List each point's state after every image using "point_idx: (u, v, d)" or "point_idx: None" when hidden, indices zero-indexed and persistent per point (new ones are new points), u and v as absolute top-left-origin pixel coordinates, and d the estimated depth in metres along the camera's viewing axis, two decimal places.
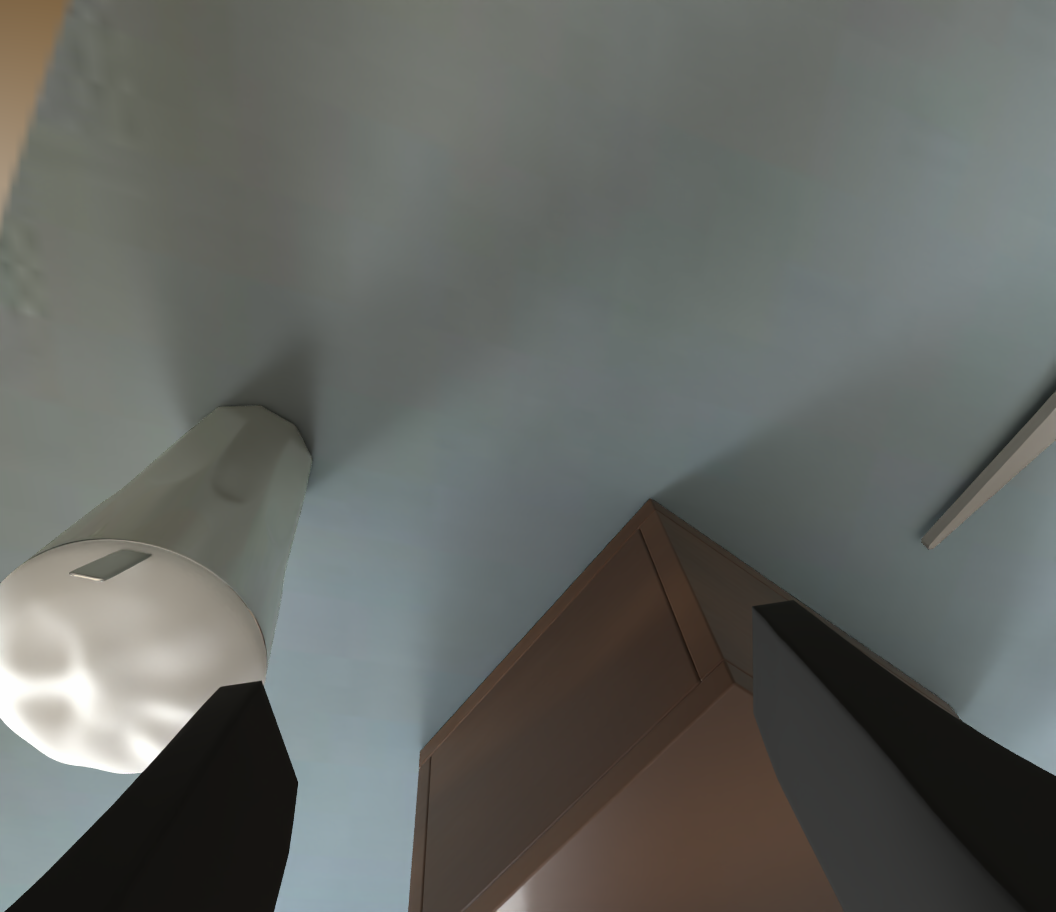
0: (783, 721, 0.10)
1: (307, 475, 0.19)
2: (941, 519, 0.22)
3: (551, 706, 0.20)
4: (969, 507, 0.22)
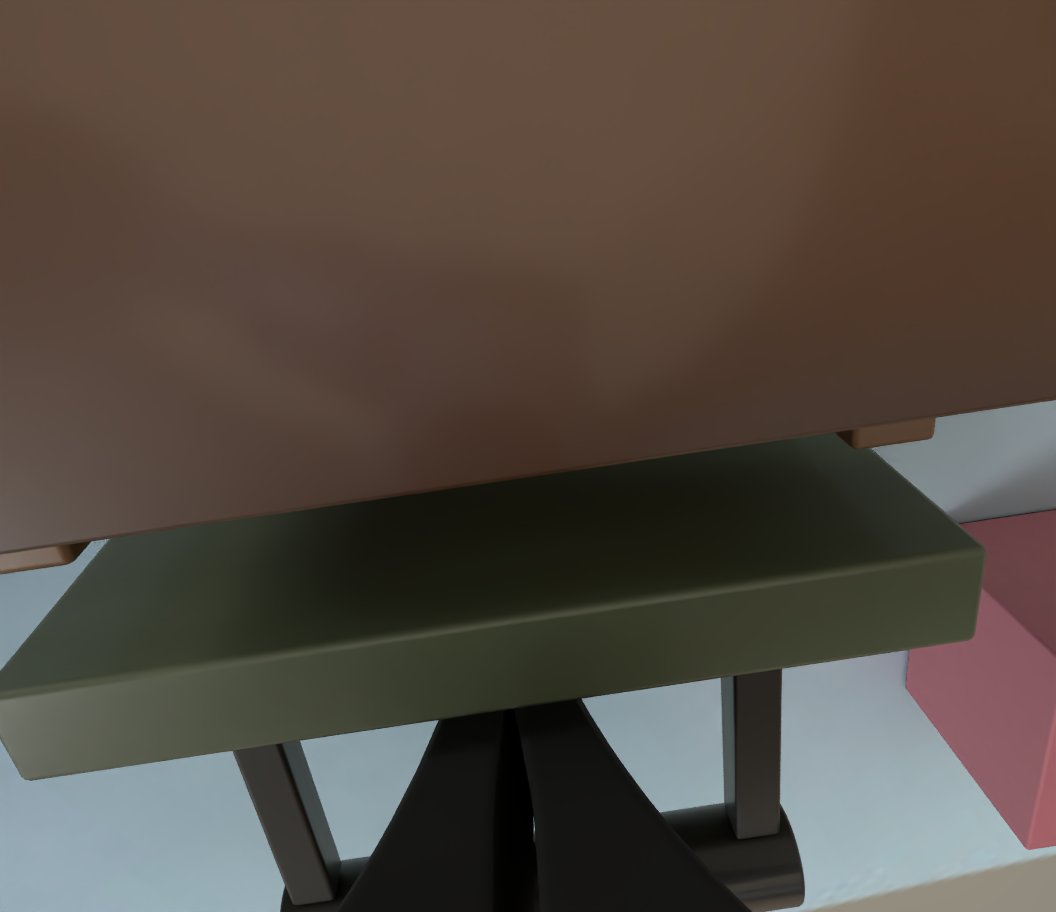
0: (523, 761, 0.10)
1: None
2: None
3: None
4: None
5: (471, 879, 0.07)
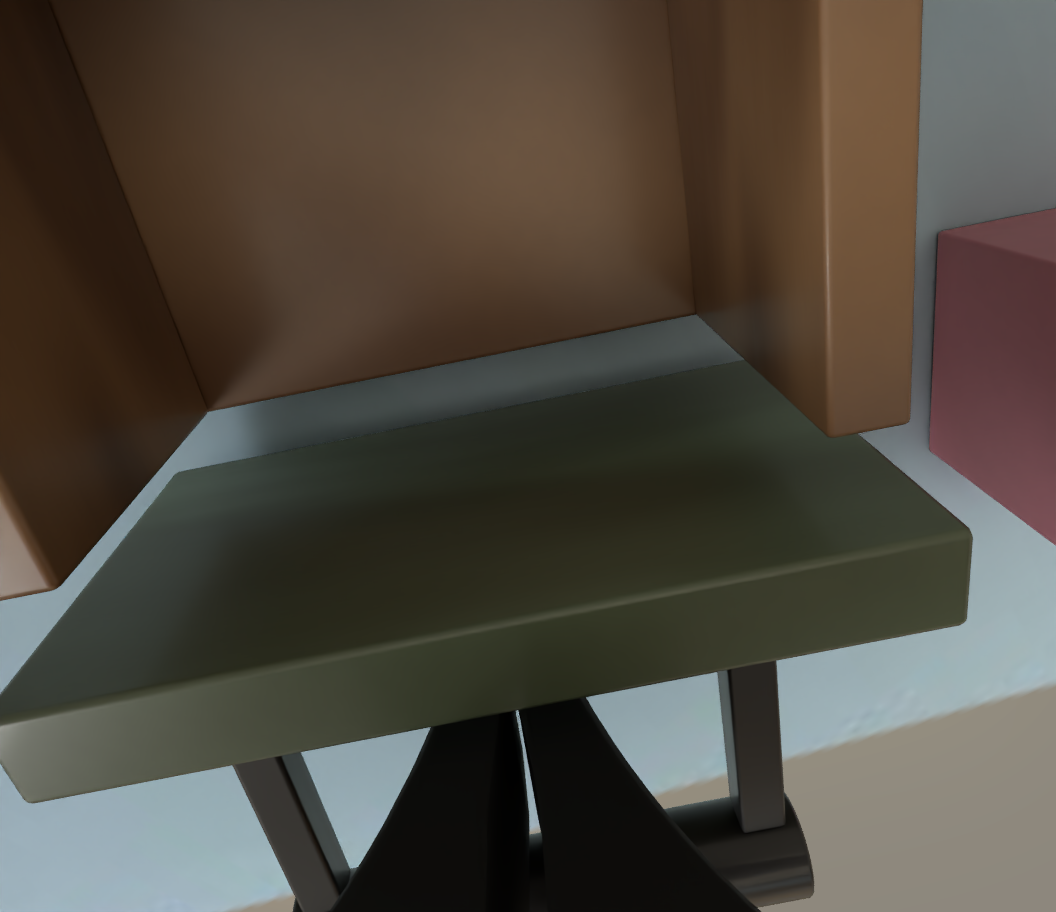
0: None
1: None
2: None
3: None
4: None
5: (463, 880, 0.07)
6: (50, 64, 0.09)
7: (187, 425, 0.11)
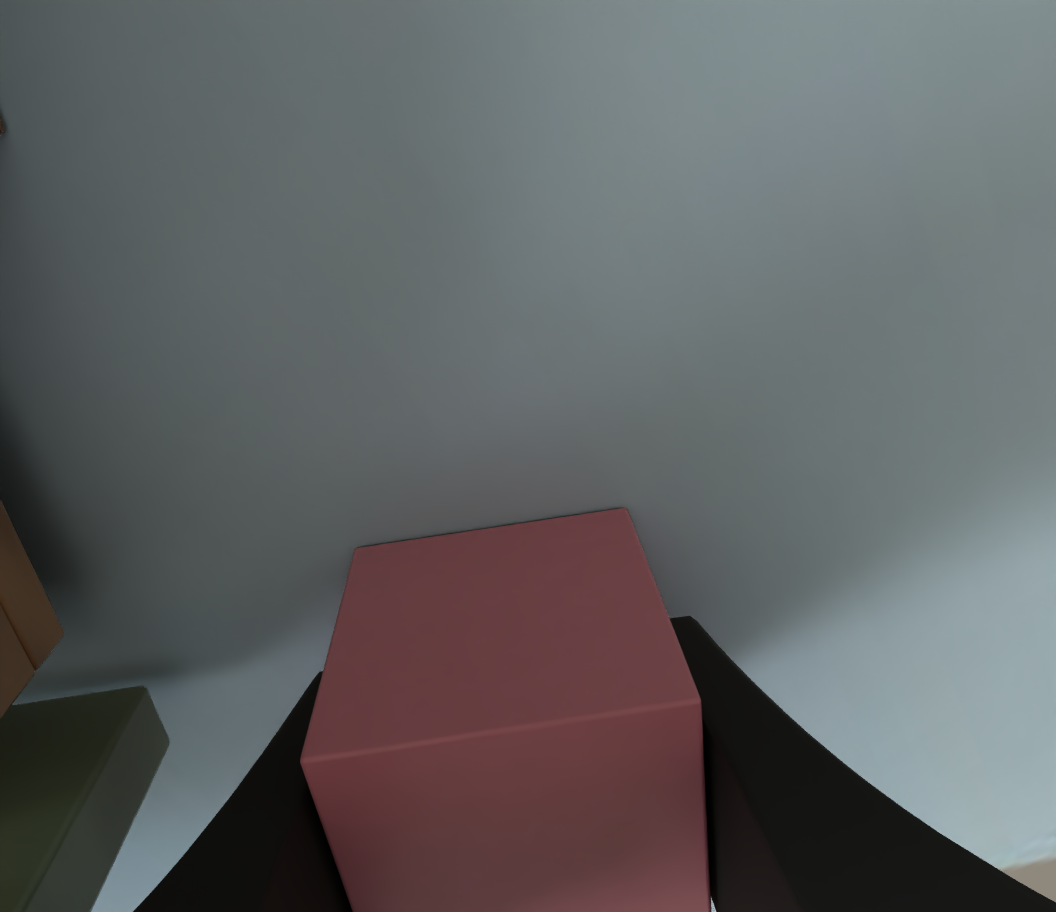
0: None
1: None
2: None
3: None
4: None
5: None
6: None
7: None
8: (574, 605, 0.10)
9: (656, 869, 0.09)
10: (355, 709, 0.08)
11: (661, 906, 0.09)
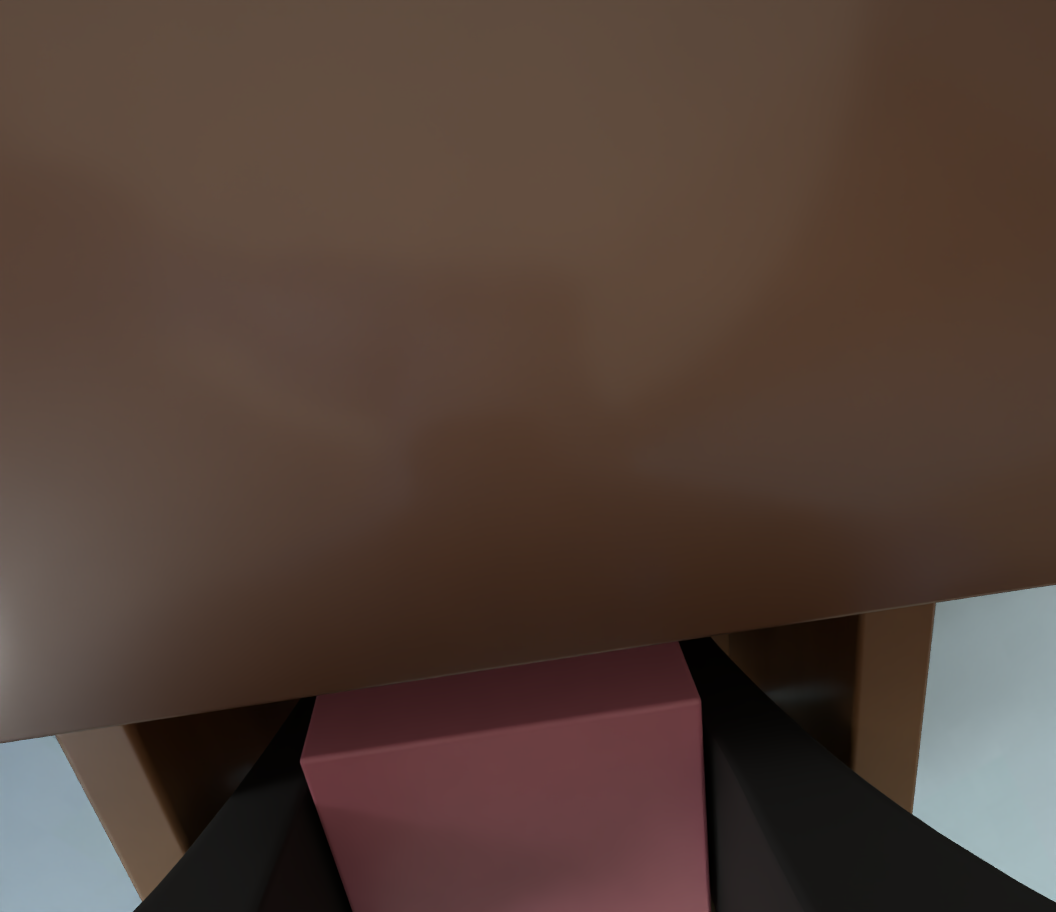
0: None
1: None
2: None
3: None
4: None
5: None
6: None
7: None
8: None
9: (656, 870, 0.09)
10: (355, 711, 0.08)
11: (660, 907, 0.09)
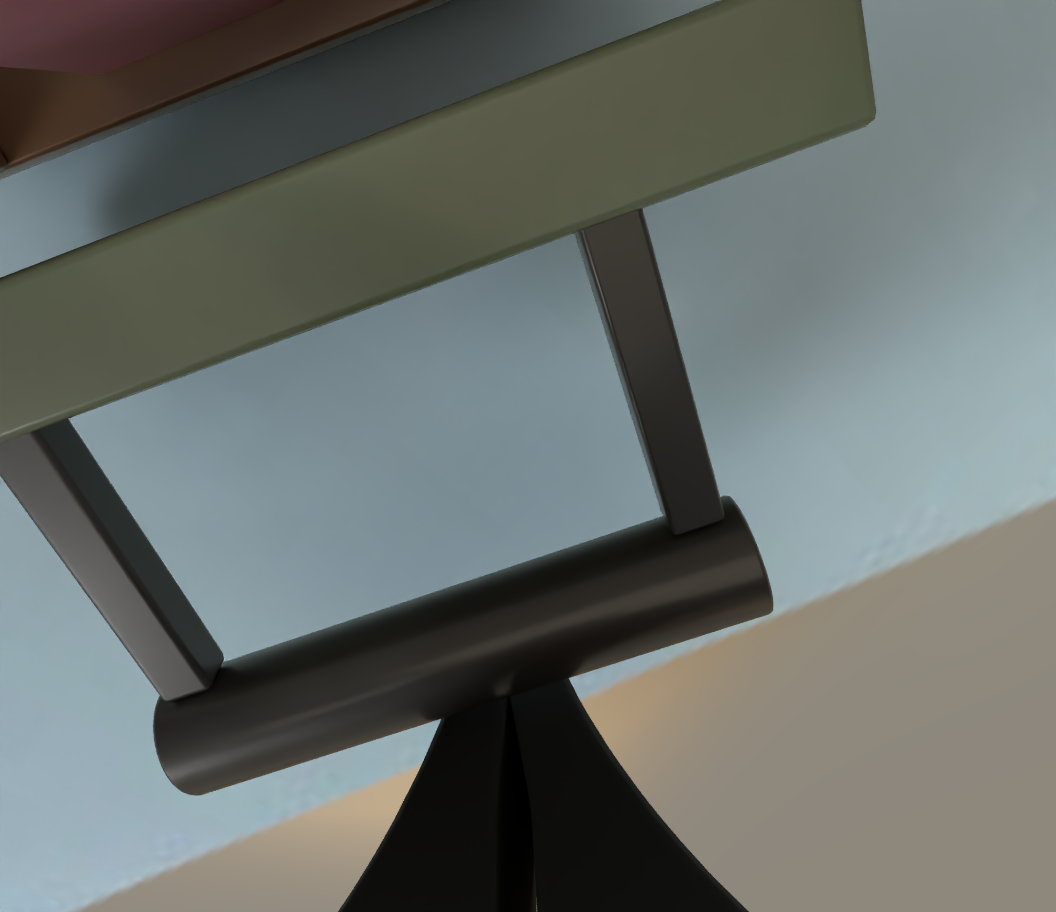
0: (521, 761, 0.10)
1: None
2: None
3: None
4: None
5: (473, 879, 0.07)
6: None
7: None
8: None
9: None
10: None
11: None
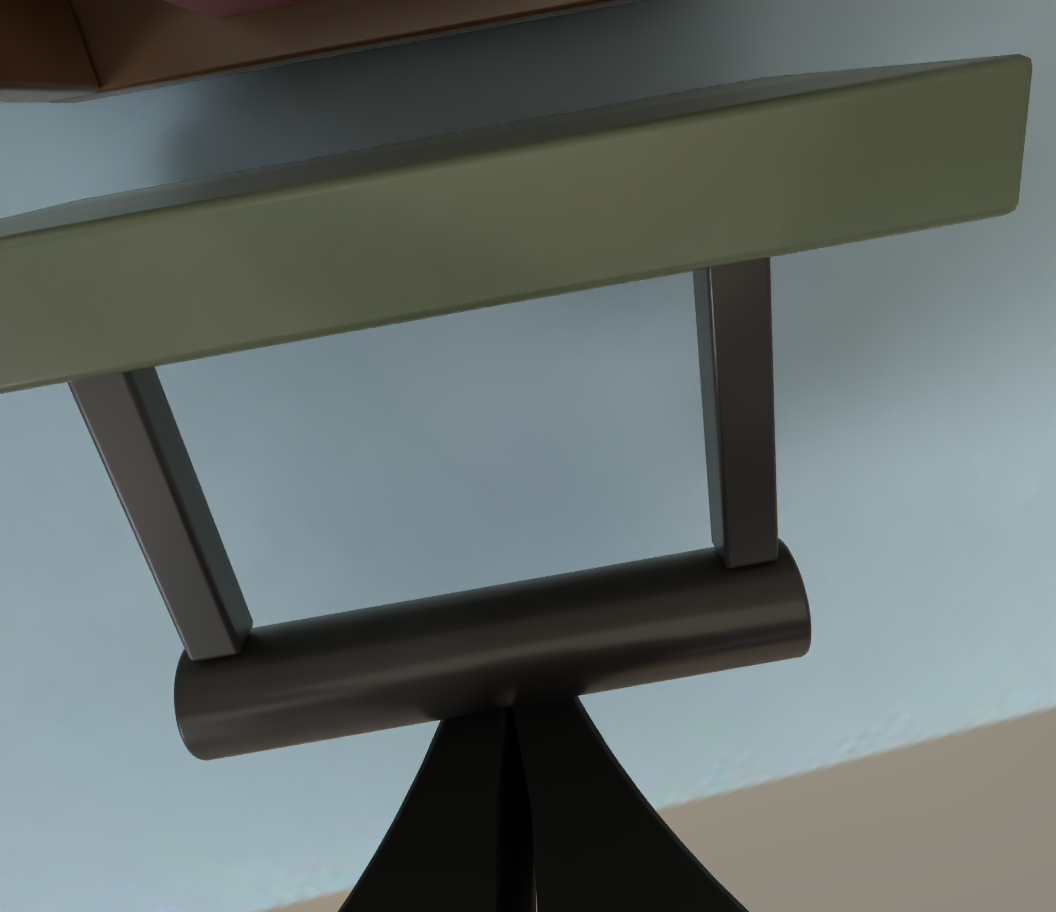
0: (522, 761, 0.10)
1: None
2: None
3: None
4: None
5: (473, 879, 0.07)
6: None
7: (65, 76, 0.09)
8: None
9: None
10: None
11: None
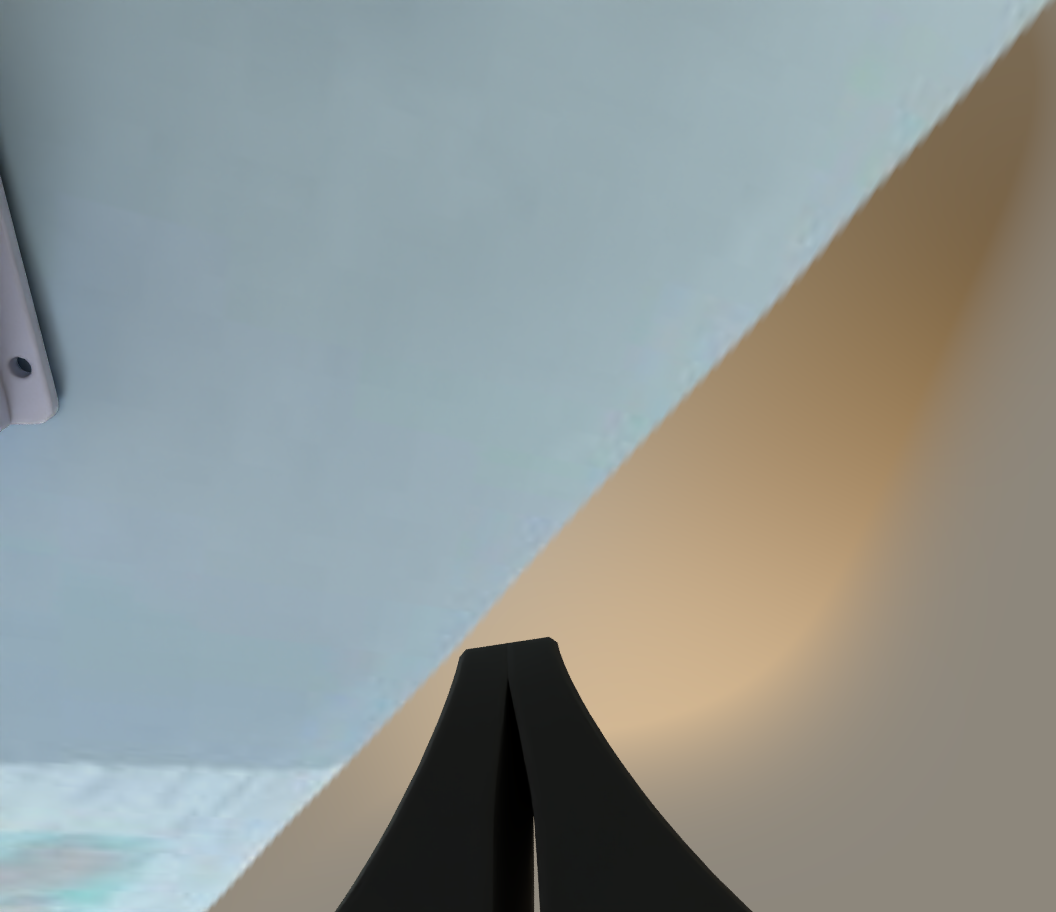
0: (523, 760, 0.10)
1: None
2: None
3: None
4: None
5: (471, 880, 0.07)
6: None
7: None
8: None
9: None
10: None
11: None
